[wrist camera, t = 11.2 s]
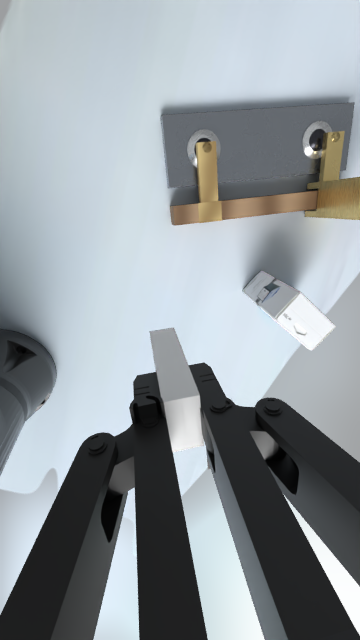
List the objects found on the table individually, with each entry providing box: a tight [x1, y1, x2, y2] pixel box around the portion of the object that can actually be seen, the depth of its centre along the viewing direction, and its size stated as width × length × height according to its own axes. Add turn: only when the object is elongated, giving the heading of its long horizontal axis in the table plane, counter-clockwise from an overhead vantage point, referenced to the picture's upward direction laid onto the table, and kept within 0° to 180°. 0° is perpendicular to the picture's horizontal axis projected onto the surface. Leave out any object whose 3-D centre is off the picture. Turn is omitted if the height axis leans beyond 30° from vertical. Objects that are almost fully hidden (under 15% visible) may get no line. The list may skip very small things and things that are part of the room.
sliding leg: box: [305, 131, 360, 220], centre depth 35 cm, size 4×10×11 cm, turn 6°
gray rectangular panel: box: [161, 103, 354, 188], centre depth 37 cm, size 26×8×1 cm, turn 96°
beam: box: [170, 141, 318, 225], centre depth 38 cm, size 26×9×3 cm, turn 96°
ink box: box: [243, 271, 336, 350], centre depth 41 cm, size 9×5×12 cm, turn 50°
